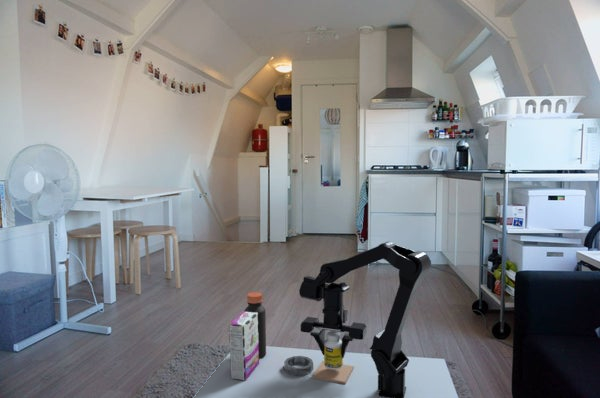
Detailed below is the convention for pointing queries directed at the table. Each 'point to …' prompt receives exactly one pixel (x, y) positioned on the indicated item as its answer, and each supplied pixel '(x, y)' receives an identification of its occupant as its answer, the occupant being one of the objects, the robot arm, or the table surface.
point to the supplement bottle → (333, 351)
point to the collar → (299, 370)
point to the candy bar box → (244, 345)
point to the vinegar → (255, 306)
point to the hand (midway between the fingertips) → (333, 356)
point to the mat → (333, 373)
